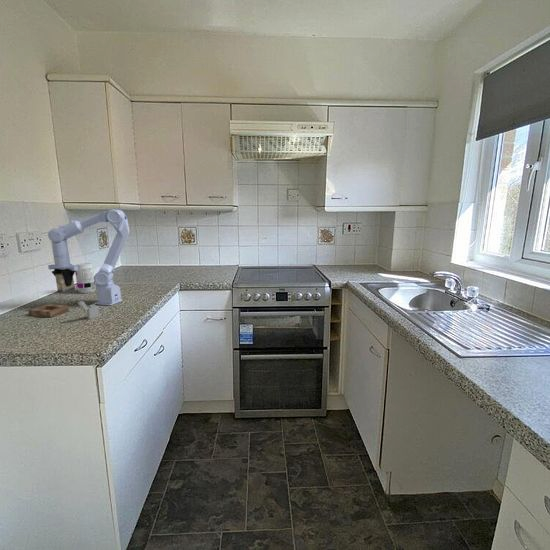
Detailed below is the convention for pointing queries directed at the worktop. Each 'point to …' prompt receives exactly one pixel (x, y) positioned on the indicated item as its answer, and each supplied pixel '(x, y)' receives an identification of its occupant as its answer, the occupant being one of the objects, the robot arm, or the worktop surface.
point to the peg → (63, 284)
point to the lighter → (90, 310)
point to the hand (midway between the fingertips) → (65, 285)
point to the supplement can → (85, 278)
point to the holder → (48, 310)
